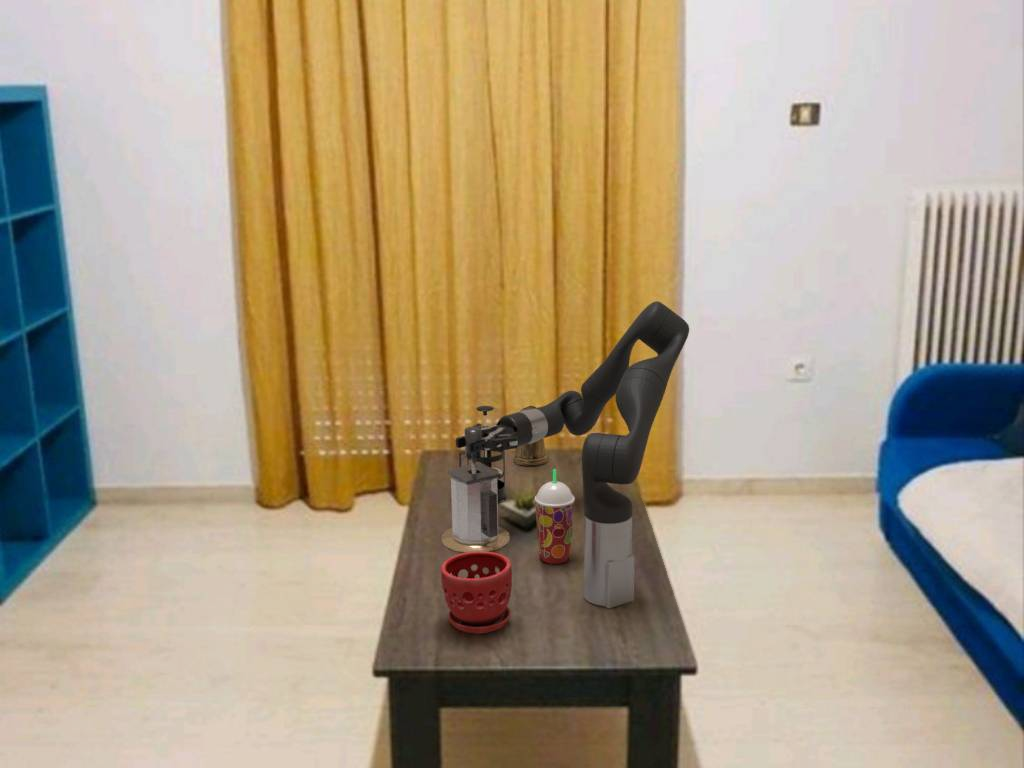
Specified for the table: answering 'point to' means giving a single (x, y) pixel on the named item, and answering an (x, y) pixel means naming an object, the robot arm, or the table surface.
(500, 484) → the french press
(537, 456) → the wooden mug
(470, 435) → the plunger
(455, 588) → the plant pot
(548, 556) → the smoothie
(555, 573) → the table surface
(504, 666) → the table surface
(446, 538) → the press carafe
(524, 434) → the robot arm
